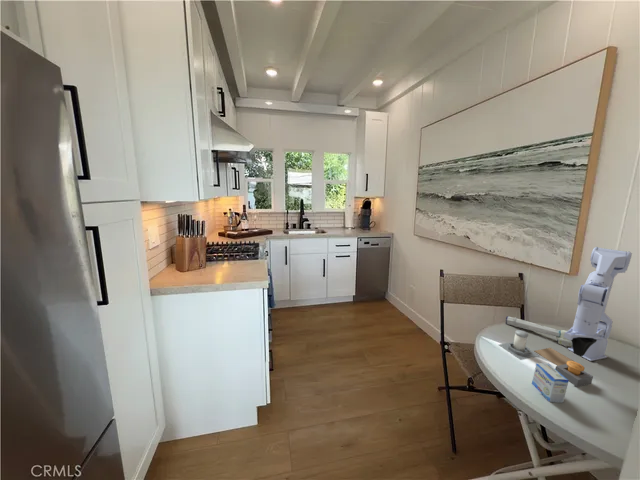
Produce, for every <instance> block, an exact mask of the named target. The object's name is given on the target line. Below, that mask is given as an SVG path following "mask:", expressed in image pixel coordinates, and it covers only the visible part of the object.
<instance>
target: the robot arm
mask: <svg viewBox="0 0 640 480" xmlns="http://www.w3.org/2000/svg"><path fill="white" fill-rule="evenodd" d="M632 254H633V253H632V252H631V251H625V250H618V249H613V248H605V247H604V248H603V247H598V246H595V247H593V249H592V250H591V255H590V259H589V260H590V265H591V267H592V268H594V269H595V270H594V271H592V272H590V273H589V274H588V277H587V278H586V281H585V282H584V284H581V285H580V287H579V290H578V293H577V294H578V295H577V308H576V313H575V317H574V321H573V324H572V326H571V327H570V329H568V330H566V331H567V332H565V334H564V337H565V338H567V339H569V340H571V341H572V344H573V347H571V346H570V347H568V348H567V349H568V350H569V351H570V352H572V353H574V354H575V355H577V356H578V357H582V358H583V359H585V360H587V361H589V362H593V361H598V360H602V359H606V358H608V356H607V355H605V354H606V350H607V347H608V343H609V342H608V339H609V337H610V335H611V332H612V327H613V319H612V317H610V316H608V315H607V313H606V309H607V306H608V302H609V298H610V295H611V291H612V287H613V284H614V280H615V278H616V276H617V275H618V274H623V273H624V274H625V273H626V272H627V271H628V268H629V266H630V262H631V259H632Z"/></svg>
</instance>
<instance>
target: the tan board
mask: <svg viewBox="0 0 640 480" xmlns="http://www.w3.org/2000/svg"><path fill="white" fill-rule="evenodd" d="M533 352H535V353H536V354H538V355H540V357H542V358H543V359H545V360H547V361H549V362H551V363H552V364H554V365H555V366H559V365H564V364H566V363H567V361H573V362H576V361H574V360H573V359H571V358H569V357H567V356H566V355H564V354H563V353H561V352H559V351H557V350H555V349H554V348H552V347H548V348H547V347H546V348H542V349H537V350H533Z"/></svg>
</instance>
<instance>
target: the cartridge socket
mask: <svg viewBox="0 0 640 480" xmlns="http://www.w3.org/2000/svg"><path fill="white" fill-rule="evenodd" d="M513 343H514V341H511V342H506V343H501V344H500V343H499V344H498V346H499V347H501V348H502V349H504V350H505V351H507V352H508V353H510V354H511V355H513V356H514V357H515V358H517V359H519V360H520V361H523V360H527V359H531V358H536V357H541V355H539V354H537V353H536V352H534V350H531V349H530V348H529V347H528V346H526V347H525V352H521V351H517V350H515V349H513Z"/></svg>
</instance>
